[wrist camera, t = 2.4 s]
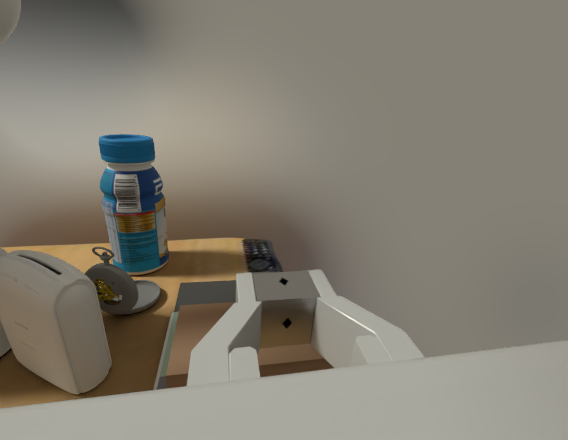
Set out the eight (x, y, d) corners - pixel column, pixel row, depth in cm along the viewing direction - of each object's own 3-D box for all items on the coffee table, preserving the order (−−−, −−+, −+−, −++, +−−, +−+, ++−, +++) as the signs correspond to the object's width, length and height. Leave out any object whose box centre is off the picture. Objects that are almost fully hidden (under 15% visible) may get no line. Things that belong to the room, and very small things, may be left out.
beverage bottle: (100, 267, 45) (75, 135, 38) (145, 246, 52) (131, 132, 45) (139, 283, 42) (119, 143, 35) (181, 259, 49) (172, 138, 42)
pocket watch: (159, 282, 43) (153, 220, 39) (163, 319, 36) (155, 248, 32) (94, 293, 40) (80, 226, 36) (84, 336, 33) (66, 259, 29)
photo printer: (7, 362, 29) (-35, 253, 24) (54, 333, 33) (25, 234, 28) (77, 405, 25) (44, 288, 21) (120, 368, 29) (100, 262, 24)
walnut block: (316, 455, 22) (335, 357, 18) (177, 480, 20) (165, 375, 16) (297, 384, 27) (309, 297, 24) (187, 398, 25) (180, 305, 21)
